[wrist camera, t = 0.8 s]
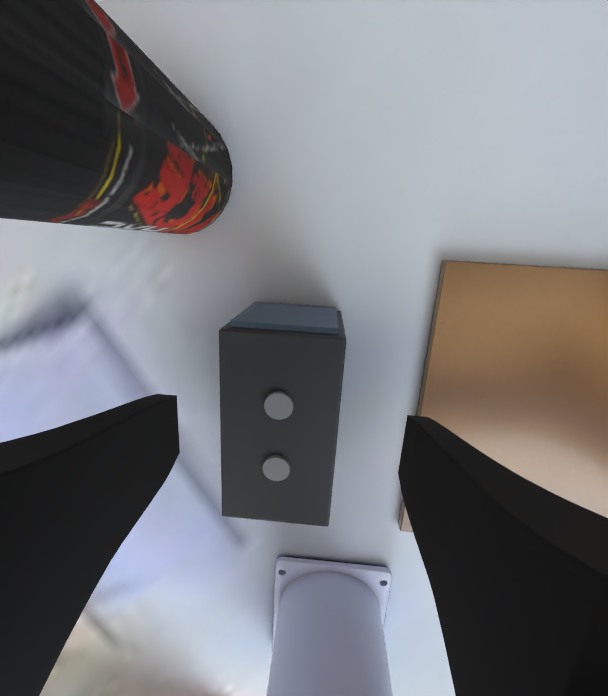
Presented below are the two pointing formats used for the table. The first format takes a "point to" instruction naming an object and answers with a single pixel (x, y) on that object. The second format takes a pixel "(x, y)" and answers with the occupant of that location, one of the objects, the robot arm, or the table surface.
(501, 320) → the cork mat
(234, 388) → the speaker
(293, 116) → the table surface
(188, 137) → the deodorant
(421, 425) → the robot arm
